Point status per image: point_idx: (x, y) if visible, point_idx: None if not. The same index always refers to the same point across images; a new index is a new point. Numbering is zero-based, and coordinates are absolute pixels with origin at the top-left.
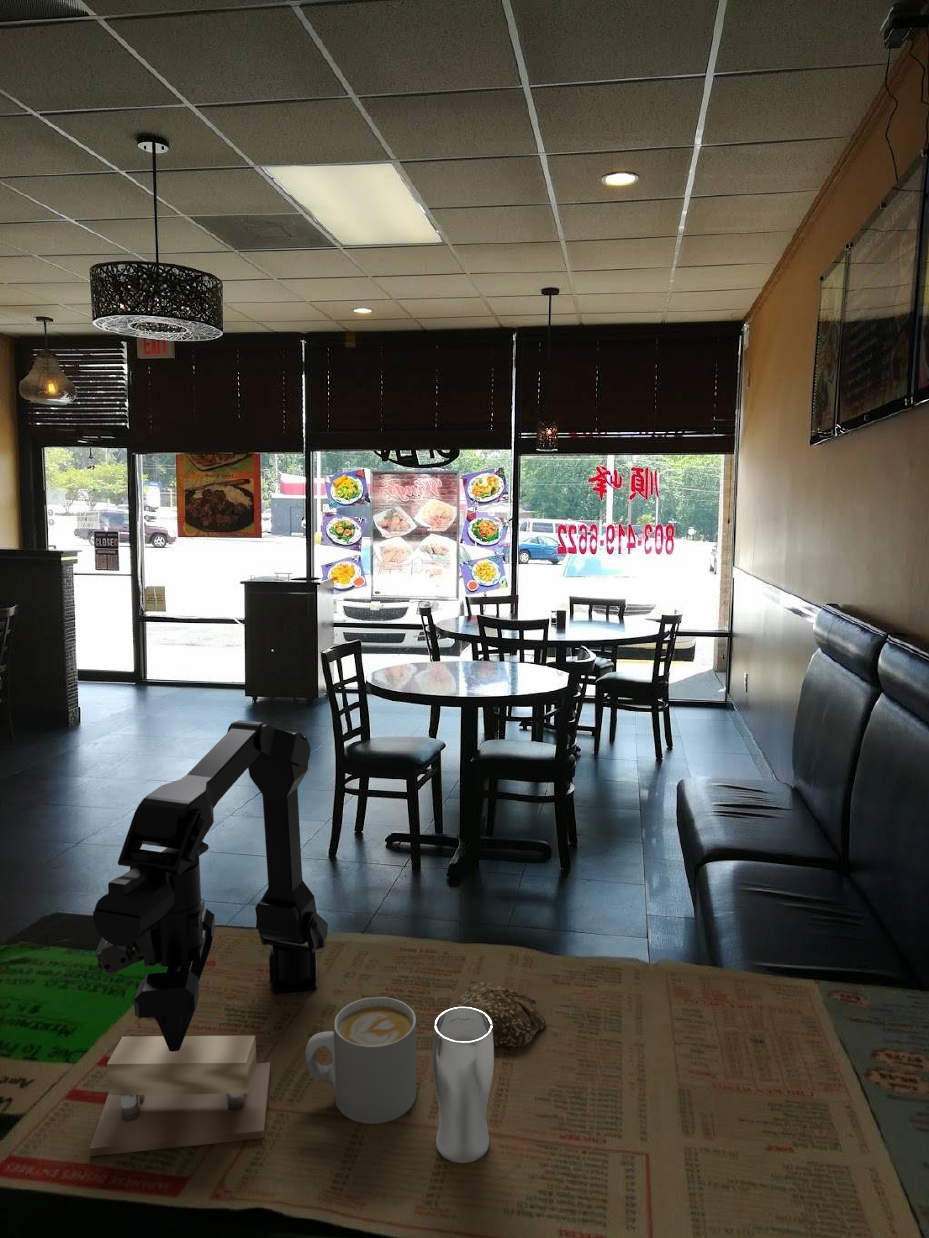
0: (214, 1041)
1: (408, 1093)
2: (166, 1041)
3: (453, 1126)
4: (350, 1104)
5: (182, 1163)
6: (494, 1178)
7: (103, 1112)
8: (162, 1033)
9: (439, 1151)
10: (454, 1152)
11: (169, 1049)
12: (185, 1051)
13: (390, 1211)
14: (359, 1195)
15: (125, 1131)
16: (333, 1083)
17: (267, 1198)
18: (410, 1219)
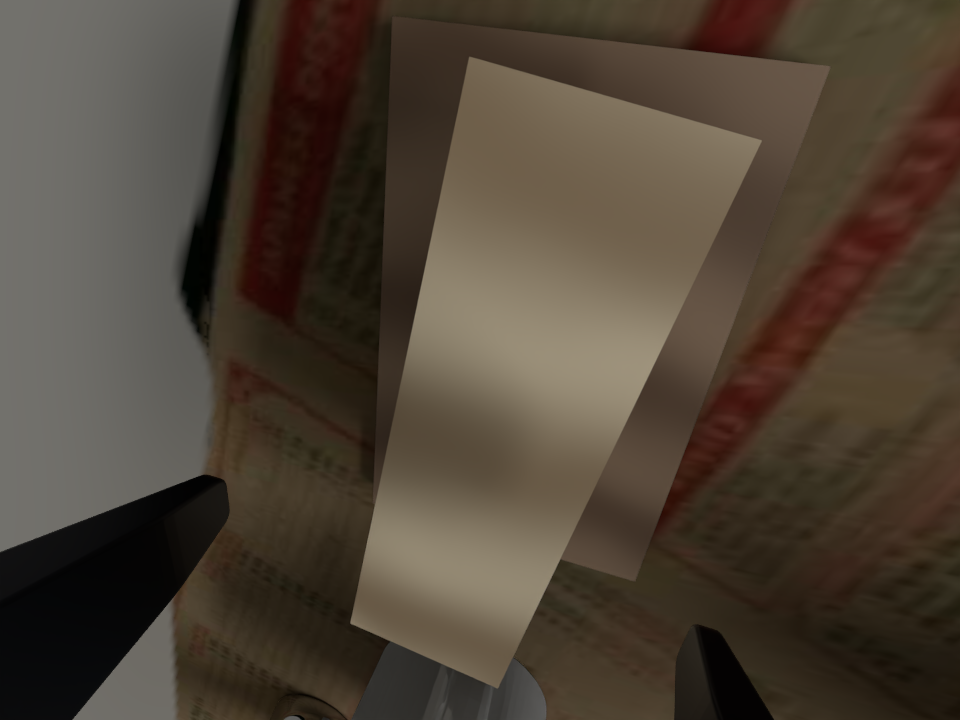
0: (505, 576)
1: None
2: (117, 511)
3: None
4: (388, 665)
5: (334, 311)
6: (249, 716)
7: (579, 45)
8: (8, 549)
9: (298, 697)
10: (272, 716)
11: (194, 480)
12: (470, 468)
13: (198, 600)
14: (228, 579)
15: (449, 149)
16: (449, 671)
17: (227, 457)
18: (185, 614)
